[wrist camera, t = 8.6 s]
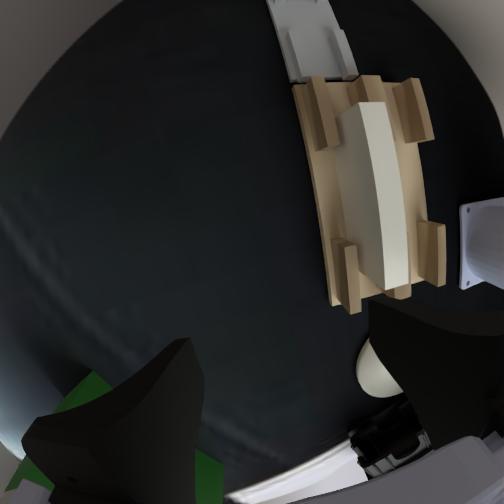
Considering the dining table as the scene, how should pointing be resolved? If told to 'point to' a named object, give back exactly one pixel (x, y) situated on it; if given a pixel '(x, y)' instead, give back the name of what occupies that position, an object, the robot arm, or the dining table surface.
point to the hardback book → (88, 390)
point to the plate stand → (311, 40)
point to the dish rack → (328, 192)
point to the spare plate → (374, 374)
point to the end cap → (389, 438)
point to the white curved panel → (372, 193)
